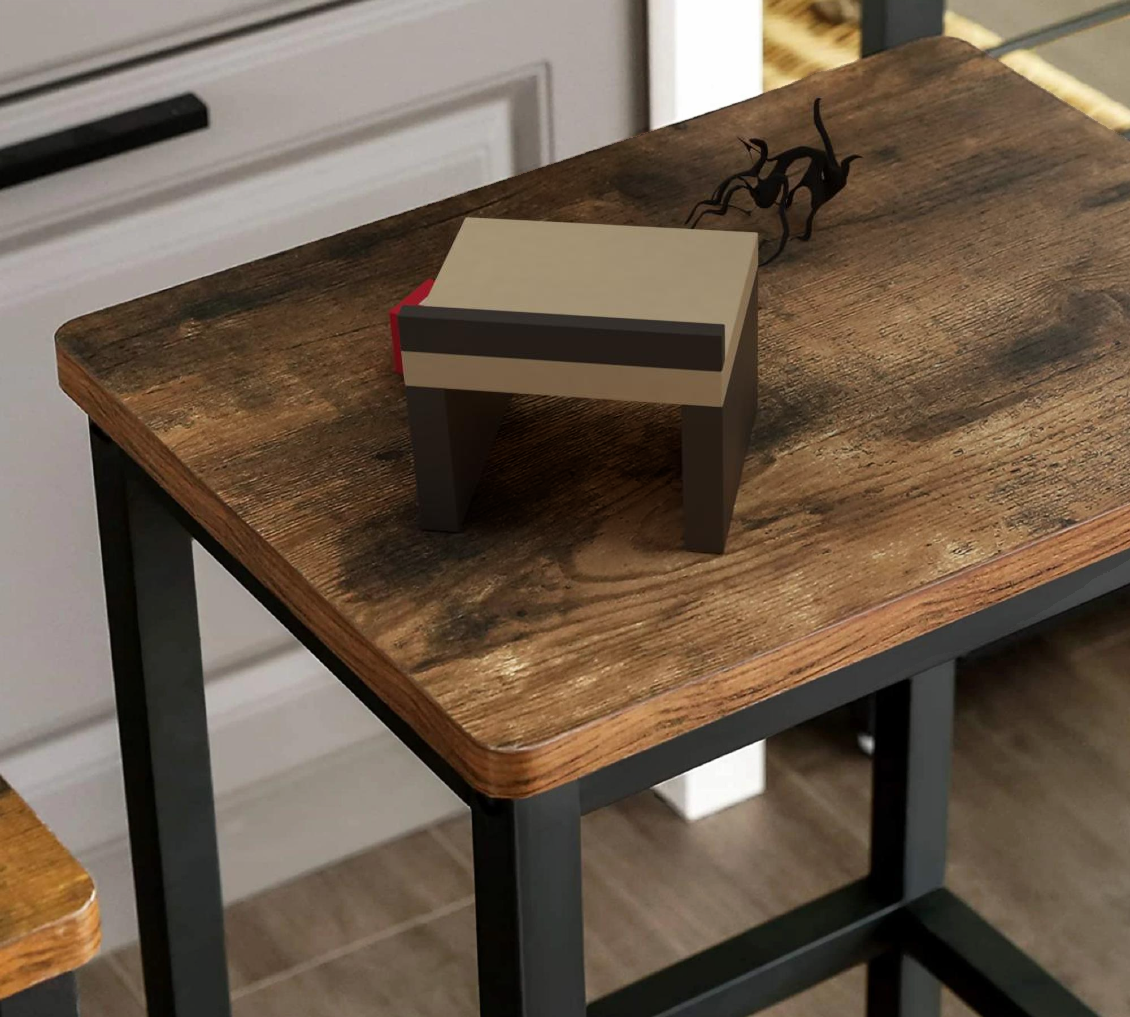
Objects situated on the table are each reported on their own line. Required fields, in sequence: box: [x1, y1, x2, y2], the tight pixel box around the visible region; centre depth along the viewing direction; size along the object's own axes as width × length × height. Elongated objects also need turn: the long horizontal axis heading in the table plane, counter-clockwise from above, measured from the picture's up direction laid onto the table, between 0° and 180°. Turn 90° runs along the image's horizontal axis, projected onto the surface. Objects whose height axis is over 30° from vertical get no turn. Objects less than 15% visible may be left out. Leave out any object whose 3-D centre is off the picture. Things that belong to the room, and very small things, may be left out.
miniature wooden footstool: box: [397, 216, 759, 554], centre depth 82 cm, size 12×10×10 cm
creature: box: [684, 97, 864, 269], centre depth 98 cm, size 8×5×8 cm
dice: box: [388, 278, 435, 376], centre depth 90 cm, size 3×3×3 cm
